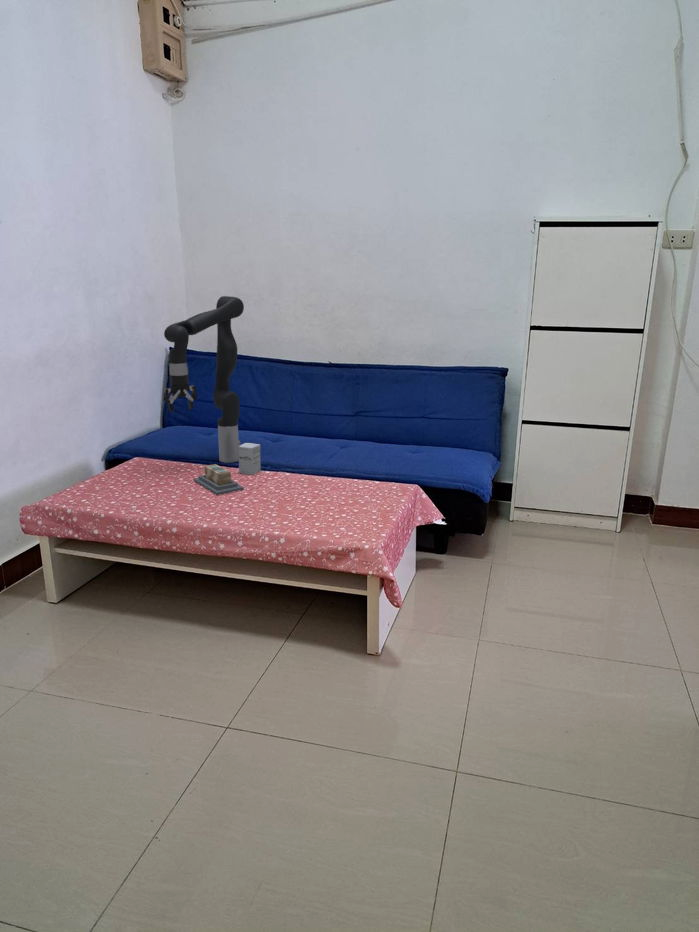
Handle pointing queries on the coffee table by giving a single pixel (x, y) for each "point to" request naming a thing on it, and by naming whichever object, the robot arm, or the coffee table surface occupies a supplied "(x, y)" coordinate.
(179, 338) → the robot arm
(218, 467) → the oak frame
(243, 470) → the supplement box
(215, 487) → the grey rectangular framed panel
